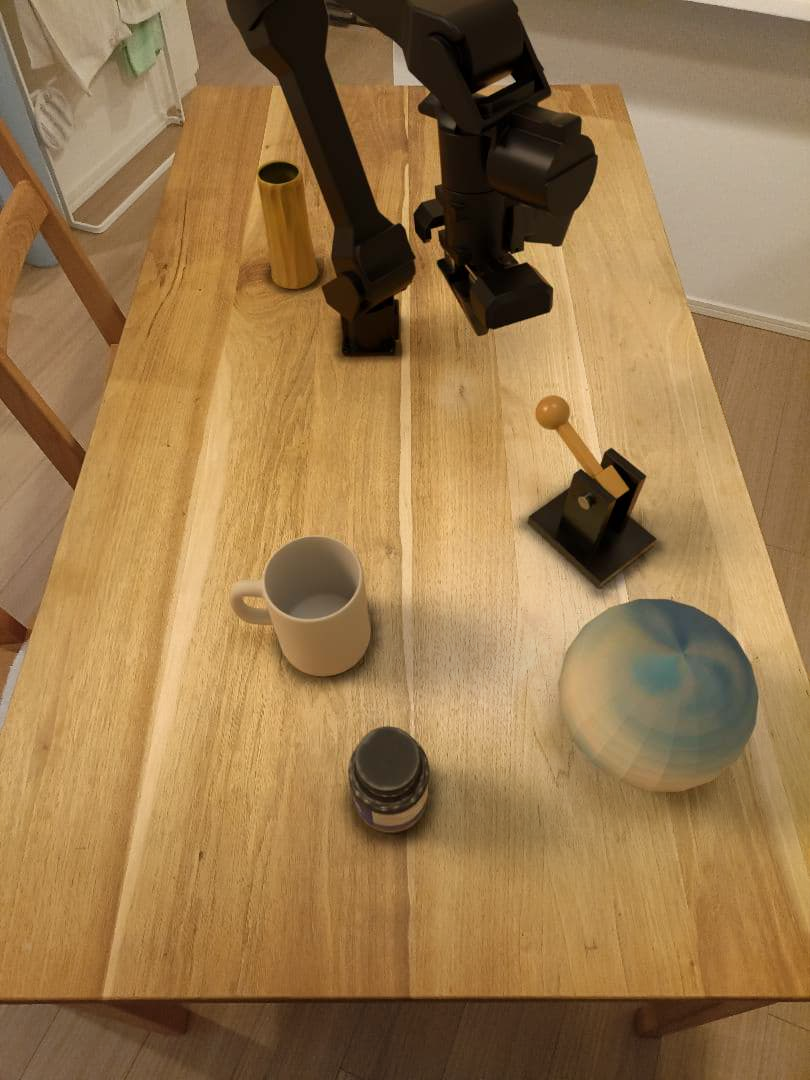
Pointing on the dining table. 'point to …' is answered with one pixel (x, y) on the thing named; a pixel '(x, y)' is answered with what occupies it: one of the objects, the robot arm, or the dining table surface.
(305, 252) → the vase
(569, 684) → the decorative ball
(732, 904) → the dining table surface
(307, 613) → the mug
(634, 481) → the lever base
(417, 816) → the pill bottle
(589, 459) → the ball knob lever
